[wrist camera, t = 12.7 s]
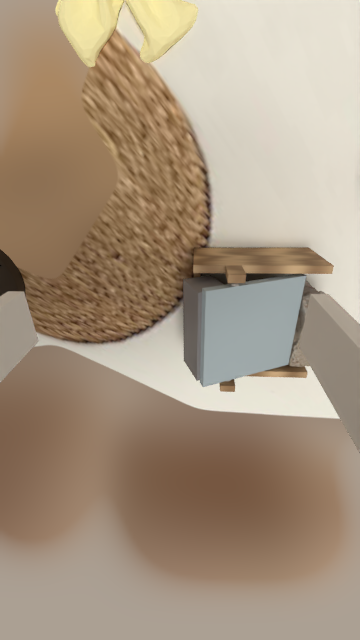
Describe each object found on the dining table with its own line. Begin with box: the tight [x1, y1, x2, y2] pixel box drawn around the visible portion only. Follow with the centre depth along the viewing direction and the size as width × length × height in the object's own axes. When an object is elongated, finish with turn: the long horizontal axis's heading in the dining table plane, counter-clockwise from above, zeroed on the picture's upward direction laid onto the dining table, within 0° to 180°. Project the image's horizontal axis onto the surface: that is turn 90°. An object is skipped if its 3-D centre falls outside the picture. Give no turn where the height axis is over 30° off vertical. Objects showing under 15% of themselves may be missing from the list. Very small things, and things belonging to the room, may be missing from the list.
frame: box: [192, 248, 334, 392], centre depth 41 cm, size 17×17×12 cm
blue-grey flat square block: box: [183, 274, 306, 387], centre depth 40 cm, size 14×14×6 cm
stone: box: [289, 281, 325, 367], centre depth 43 cm, size 13×6×10 cm, turn 5°
